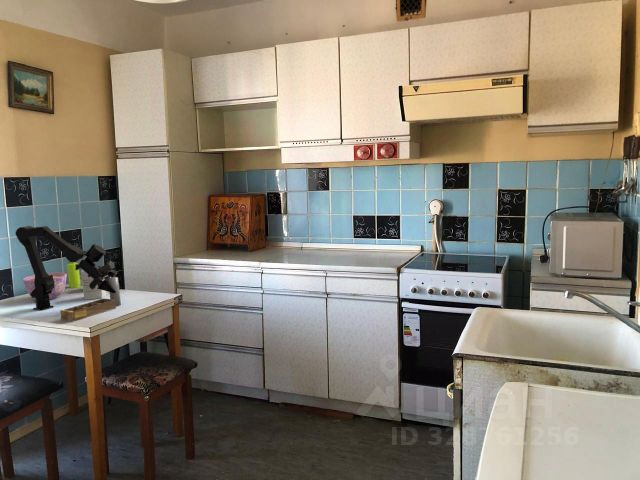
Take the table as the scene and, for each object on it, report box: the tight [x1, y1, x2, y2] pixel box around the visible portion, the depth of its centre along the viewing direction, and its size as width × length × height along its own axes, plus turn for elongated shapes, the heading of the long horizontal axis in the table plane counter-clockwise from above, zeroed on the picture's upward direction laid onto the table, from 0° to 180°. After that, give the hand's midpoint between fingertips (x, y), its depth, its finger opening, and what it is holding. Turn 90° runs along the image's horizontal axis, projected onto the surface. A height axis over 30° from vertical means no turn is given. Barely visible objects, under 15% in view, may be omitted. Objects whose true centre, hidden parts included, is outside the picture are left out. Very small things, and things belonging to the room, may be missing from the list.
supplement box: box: [80, 269, 107, 301], centre depth 261 cm, size 9×9×15 cm
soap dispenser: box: [66, 261, 82, 289], centre depth 291 cm, size 6×7×20 cm
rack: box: [59, 298, 117, 322], centre depth 229 cm, size 8×22×4 cm, turn 151°
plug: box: [108, 276, 122, 307], centre depth 242 cm, size 4×4×13 cm
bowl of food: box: [22, 272, 68, 301], centre depth 265 cm, size 20×20×12 cm
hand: (117, 291), depth 242 cm, fingers closed on plug, 4 cm apart
